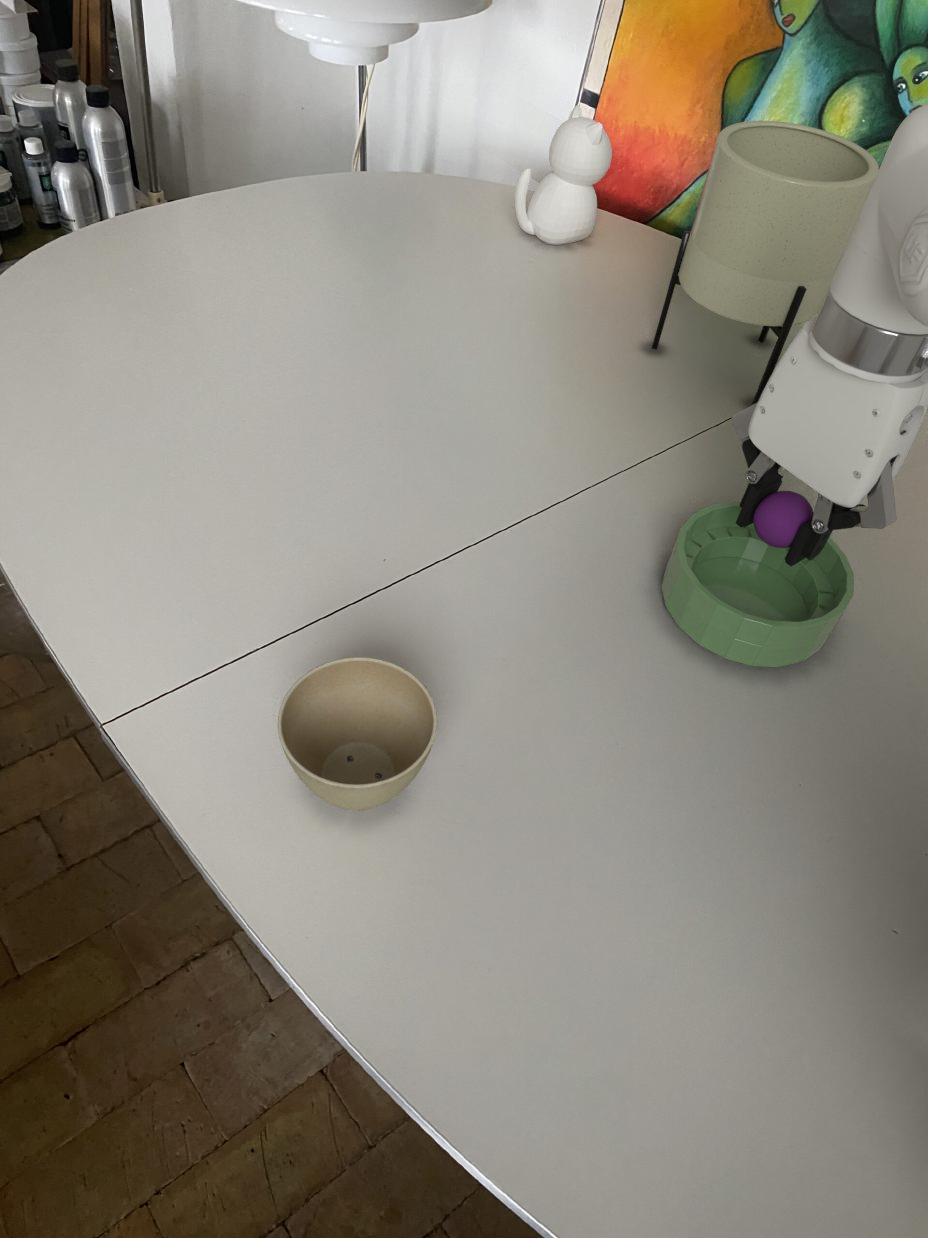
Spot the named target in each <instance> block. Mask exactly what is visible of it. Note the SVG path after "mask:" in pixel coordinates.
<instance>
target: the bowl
mask: <svg viewBox="0 0 928 1238" xmlns="http://www.w3.org/2000/svg"><path fill="white" fill-rule="evenodd" d="M740 503H741V501H727V502H722V503H715V504H711V505H708V506H706V507H704V508H702V509H700V510H699V511H696V512H694V513H692V514H691V515H690V517H689V518H688V519H687V520H686V521H685V522H684V523H683V525H682V526H681V527H680V529H679V531H678V533H677V537H676V539H675V542H674V545H673V547H672V550H671V553H670V555H669V559H668V561H667V564H666V566H665V569H664V573H663V577H662V582H661V591H662V596H663V599H664V600H663V601H664V605H665V607H666V609H667V611H668V613H669V615H670V616H671V618H672V619H673V621H674V622H675V623H676V625H677V626H678V628H680V629H681V630H682V631H683V632H684V633H685V634H686V635H687V636H688V637H690V639H692V640H693V642H695V643H696V644H698V645H699V646H701V647H703V648H704V649H706V650H708V651H710V652H712V653H713V654H715V655H717V656H718V657H720V658H723V659H725V660H729V661H732V662H736V663H739V664H743V665H747V666H750V667H767V668H782V667H786V666H790V665H794V664H798V663H802V662H804V661H806V660H808V659H809V658H810V657H812V656H814V654H817V652H819V651H821V650H822V648H823V647H824V644H825V643H826V642H827V640H828V638H829V636H830V635H831V634H832V632H833V631H834V629H835V627H836V625H837V624H838V622H839V621H840V619H841V617H842V616H843V614H844V612H845V611H846V609H847V608H848V606H849V604H850V603H851V600H852V599H853V597H854V595H855V574H854V572H853V569H852V567H851V564H850V562H849V559H848V557H847V555H846V554H845V553H844V552H843V550H842V549H841V548H840V547H839V545H837V543H836V542H835V541H834V539H832V537H831V536H830V537H829V539H828V540H827V542H826V544H825V546H824V548H823V549H822V551H821V552H820V553H819V554H818V555H817V556H816V557H815V558H813V559H811V560H808V559H807V558H805V559H803V560H802V561H800V562H798V563H797V564H795V565H793V566H792V567H790V566H789V565H788V564H787V563H785V561H786V560H785V557H786V555H787V553H788V551H789V549H790V547H789V548H776V547H772V546H770V545H768V544H766V543H765V542H763V541H762V540H761V539H760V538H759V536H758V535H757V533H756V531H755V528H754V524H753V523H752V524H750V525H748V526H746V527H745V528H744V527H740V526H738V525H737V524H736V520H737V518H738V516H739V513H740V511H741V509H742V508H741V507H740Z"/></svg>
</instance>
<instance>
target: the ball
mask: <svg viewBox="0 0 928 1238" xmlns="http://www.w3.org/2000/svg"><path fill="white" fill-rule="evenodd" d="M813 515H814V509H813V507H812V504H811V503H810V502H809V500H808V499H806V498H805V497H804V496H803V495H802V494H800V493H799V492H798V493H797V492H795V491H791V490H778V492H774V493H772V494H770V495H768V496H766V497H765V498H764V499H763V500H762V501H761V502H760V503H759V504H758V506H757V508H756V510H755V513H754V518H753V524H754V528H755V531H756V533H757V535H758V536H759V538H760V539H761V540H762V541H763V542H765V543H766V544H768V545H770V546H772V547H776V548H789V547H791V545H792V543H793V541H794V539H795V537H796V536H797V534H798V532H799V530H800V528H801V526H802V525H803V524H805V523H806V522H808V521H810V520H812V518H813Z"/></svg>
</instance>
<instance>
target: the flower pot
mask: <svg viewBox="0 0 928 1238" xmlns="http://www.w3.org/2000/svg"><path fill="white" fill-rule="evenodd" d="M437 729H438V713H437V708H436V704H435V702H434V699H433V697H432V695H431V694H430V692H429V690H428V689H427V687H426V686H425V685H424V684H423V683H422V682H421V681H420V679H419V678H417V676H416V675H414V674H413V673H411V672H410V671H408V670H407V669H405V668H404V667H402V666H400V665H398V664H395V663H393V662H389V661H387V660H384V659H381V658H375V657H368V656H367V657H366V656H353V657H345V658H339V659H334V660H331V661H329V662H325V663H323V664H320V665H318V666H315V667H314V668H312V669H311V670H308V672H306V673H305V674H303V675H302V676H300V678H298V679H297V680H296V681H295V682H294V683H293V684H292V686H290V688H289V689H288V691H287V693H286V694H285V696H284V697H283V699H282V701H281V704H280V707H279V710H278V715H277V734H278V739H279V741H280V744H281V748H282V750H283V752H284V755H285V757H286V759H287V762H288V763H289V765H290V766H291V768H292V770H293V771H294V773H295V775H296V776H297V777H298V778H299V779H300V781H301V782H302V783H303V784H304V785H305V787H306V788H307V789H308V790H309V791H311V792H312V793H313V794H315V796H317V797H319V798H320V799H321V800H323V801H325V802H326V803H328V804H330V805H332V806H334V807H337V808H339V809H345V810H350V811H364V810H365V811H366V810H371V809H373V808H377V807H379V806H381V805H384V804H386V803H387V802H389V801H391V800H393V799H394V798H395V797H397V796H398V795H399V794H400V793H401V792H403V791H404V790H405V789H406V788H408V786H409V785H410V784H411V783H412V781H413V780H414V779H415V778H416V777H417V775H418V774H419V773H420V771H421V769H422V768H423V766H424V764H425V763H426V761H427V759H428V757H429V755H430V753H431V750H432V748H433V745H434V742H435V739H436V736H437Z"/></svg>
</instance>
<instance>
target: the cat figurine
mask: <svg viewBox="0 0 928 1238" xmlns="http://www.w3.org/2000/svg"><path fill="white" fill-rule="evenodd" d="M612 157H613V148H612V142H611V141H610V137H609V134H608V133H607V132H606V130H605V129H604V124H603V123H601V122H599V121H596V120H594V119H593V118H590V117H587V116H586V117H585V116H583V112H582V108H581V106H580V105H579V104H576V105H575V106H574V107H573V109H572V110H571V112H570V113H569V116H568V119H567V120H565V121H564V122H562V123H561V124H560V125H559V127H558V128H557V129H556V131H555V133H554V134H553V137H552V139H551V141H550V145H549V150H548V162H549V166H550V168H551V172H549V173H548V174H546V175H545V176H544V177H543V178H542V179H541V180H540V182H539V184H537V187H536V188H535V190H534V192H533V194H532V196H531V198H530V200H529V203H528V205H527V206H526V203H527V201H526V200H527V193H528V189H529V186H530V183H531V180H532V169H531V168H530V167H528V168H527V167H526V168H525V169H523V170H522V172H521V173H520V175H519V177H518V180H517V182H516V186H515V190H514V191H515V192H514V212H515V216H516V221H517V223H518V225H519V227H520V229H522V231H523V232H524V233H526V234H527V235H528V234H529V235H532V236H536V237H537V238H538V239H539V240H540V241H541V242H543V243H544V244H548V245H552V246H558V245H559V246H561V245H566V244H572V243H576V242H579V241H582V240H584V239H586V238H588V237H590V235H591V234H592V232H593V231H594V228H595V225H596V221H597V214H598V198H597V193H596V190H595V187H594V185H595V184H597V183H598V182H600V181H601V180H602V179H603V178H604V176H606V174H607V172H608V171H609V168H610V166H611V163H612V159H613V158H612Z"/></svg>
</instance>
